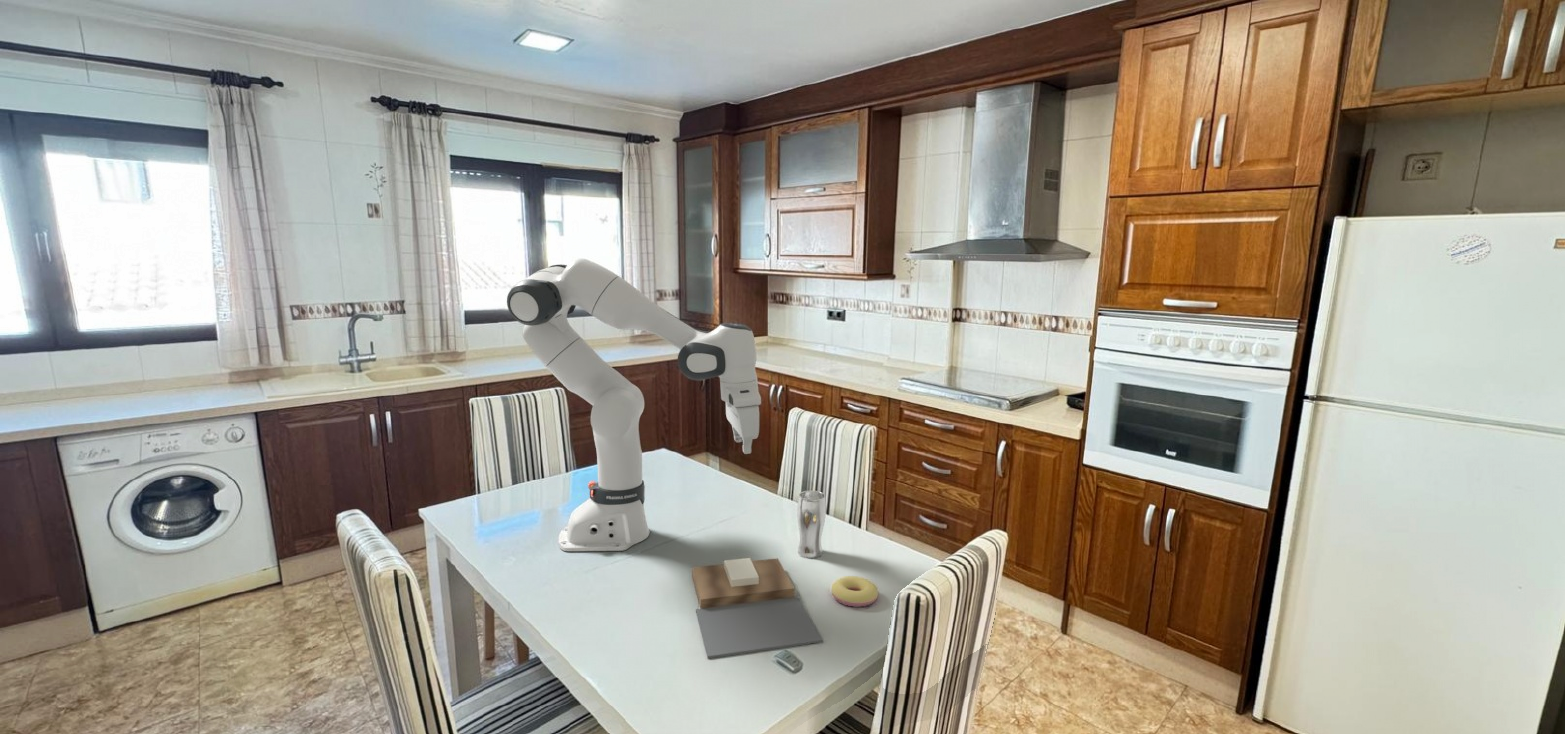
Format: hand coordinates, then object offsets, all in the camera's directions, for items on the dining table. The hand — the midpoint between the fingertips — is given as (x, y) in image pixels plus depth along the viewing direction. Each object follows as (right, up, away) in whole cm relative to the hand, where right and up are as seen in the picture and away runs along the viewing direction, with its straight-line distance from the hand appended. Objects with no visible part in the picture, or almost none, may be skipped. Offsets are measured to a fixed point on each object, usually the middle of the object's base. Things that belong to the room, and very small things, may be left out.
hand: (742, 447), depth 152 cm
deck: (+1, -29, -13) cm, 32 cm away
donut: (+25, -31, -15) cm, 43 cm away
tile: (0, -27, -12) cm, 29 cm away
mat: (+5, -32, -27) cm, 42 cm away
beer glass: (+16, -27, +5) cm, 32 cm away
